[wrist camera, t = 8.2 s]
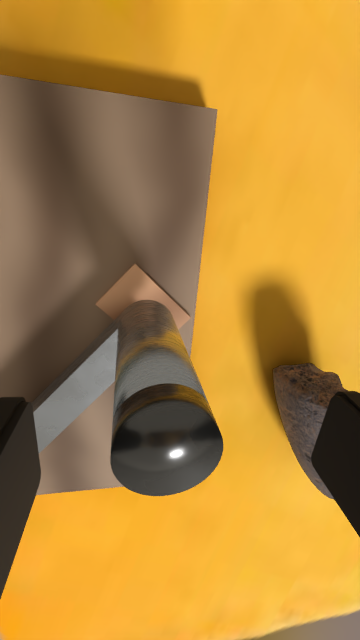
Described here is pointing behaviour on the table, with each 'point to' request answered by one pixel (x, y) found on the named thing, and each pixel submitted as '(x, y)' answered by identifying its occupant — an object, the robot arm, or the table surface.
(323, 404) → the perforated stone tool
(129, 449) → the press lever
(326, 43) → the table surface
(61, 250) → the board
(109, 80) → the table surface
